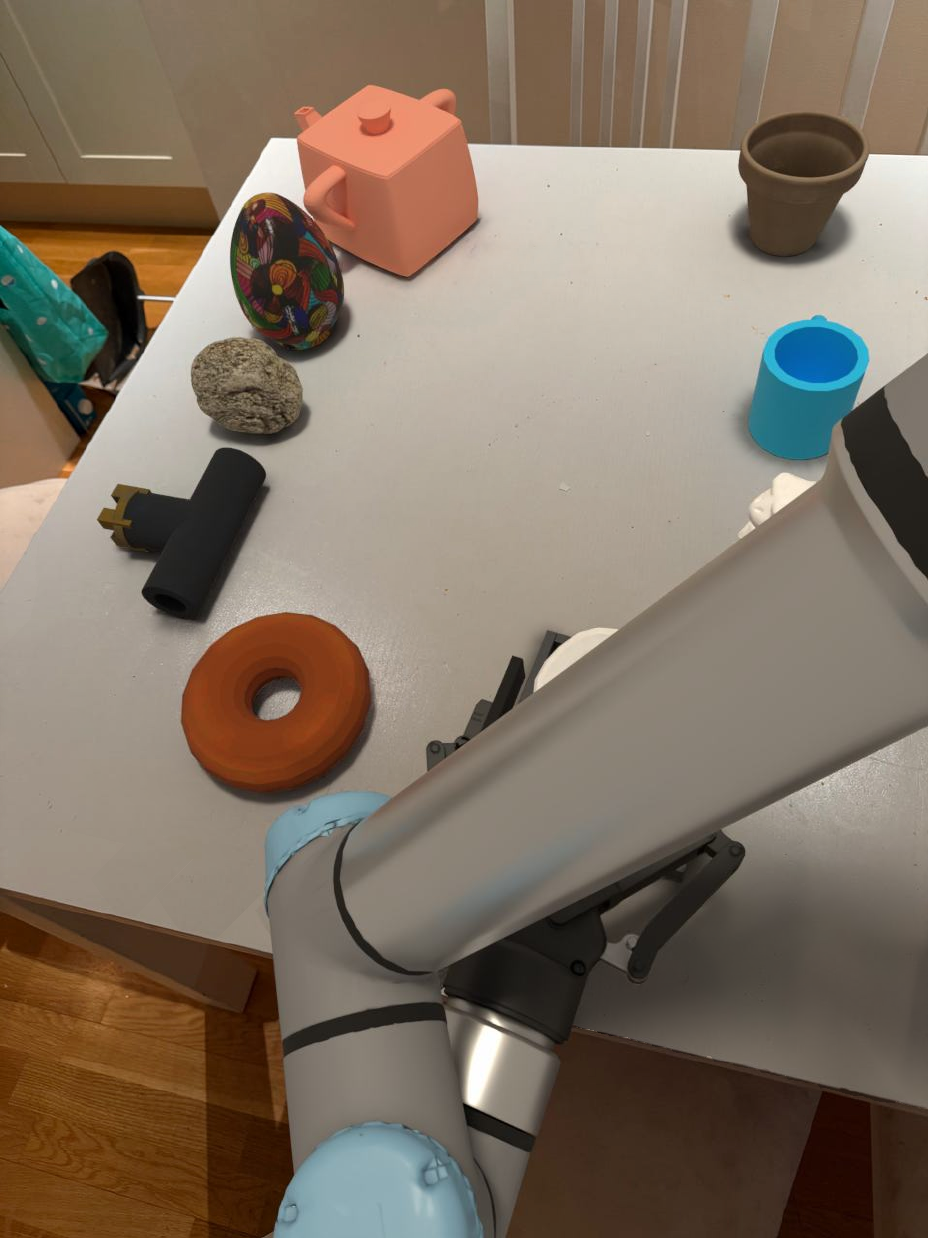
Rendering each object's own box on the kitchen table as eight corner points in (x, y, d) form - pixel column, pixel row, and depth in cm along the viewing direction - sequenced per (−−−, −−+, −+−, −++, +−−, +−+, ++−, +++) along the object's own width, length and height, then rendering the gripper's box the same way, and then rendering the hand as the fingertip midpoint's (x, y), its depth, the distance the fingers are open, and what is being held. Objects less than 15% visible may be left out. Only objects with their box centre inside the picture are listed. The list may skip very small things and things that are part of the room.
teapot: (512, 198, 100) (502, 71, 88) (379, 311, 93) (347, 189, 81) (387, 146, 108) (362, 23, 96) (256, 246, 101) (211, 127, 89)
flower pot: (846, 204, 93) (872, 107, 84) (842, 276, 87) (869, 182, 79) (732, 199, 95) (747, 105, 87) (721, 269, 90) (735, 177, 81)
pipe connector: (62, 567, 74) (141, 432, 81) (92, 600, 78) (164, 470, 85) (185, 592, 71) (256, 450, 78) (208, 624, 76) (273, 488, 83)
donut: (161, 770, 69) (133, 745, 65) (247, 613, 76) (226, 581, 71) (331, 828, 65) (312, 805, 61) (406, 656, 71) (394, 625, 67)
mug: (840, 466, 76) (865, 397, 69) (741, 452, 78) (756, 384, 71) (852, 366, 81) (877, 293, 74) (760, 355, 83) (776, 283, 76)
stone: (297, 452, 84) (264, 374, 76) (206, 441, 87) (164, 364, 78) (319, 404, 87) (289, 323, 79) (230, 394, 89) (191, 315, 81)
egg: (236, 352, 92) (179, 225, 80) (288, 286, 97) (242, 155, 84) (323, 375, 89) (278, 246, 76) (372, 306, 94) (337, 173, 81)
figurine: (812, 680, 66) (866, 569, 53) (720, 672, 67) (751, 561, 55) (809, 561, 71) (857, 433, 59) (724, 555, 73) (752, 429, 60)
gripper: (321, 951, 56) (450, 667, 65) (717, 1122, 49) (799, 776, 58) (287, 926, 50) (435, 616, 59) (736, 1119, 42) (825, 730, 51)
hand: (616, 694), depth 58 cm, fingers open, 13 cm apart
